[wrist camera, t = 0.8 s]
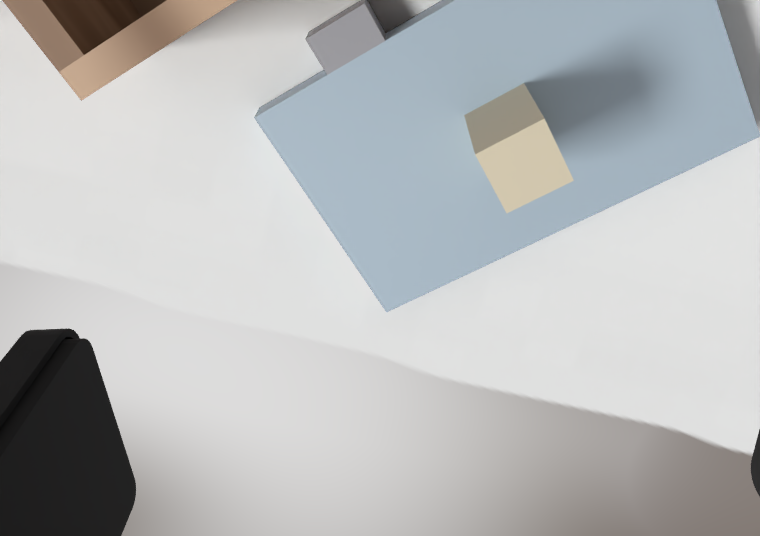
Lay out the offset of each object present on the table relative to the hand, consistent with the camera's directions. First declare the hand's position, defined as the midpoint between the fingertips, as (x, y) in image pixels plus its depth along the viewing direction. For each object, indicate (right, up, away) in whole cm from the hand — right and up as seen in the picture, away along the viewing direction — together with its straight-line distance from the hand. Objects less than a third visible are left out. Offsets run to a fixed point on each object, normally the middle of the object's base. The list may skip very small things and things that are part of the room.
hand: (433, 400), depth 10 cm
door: (+5, +9, +25) cm, 27 cm away
